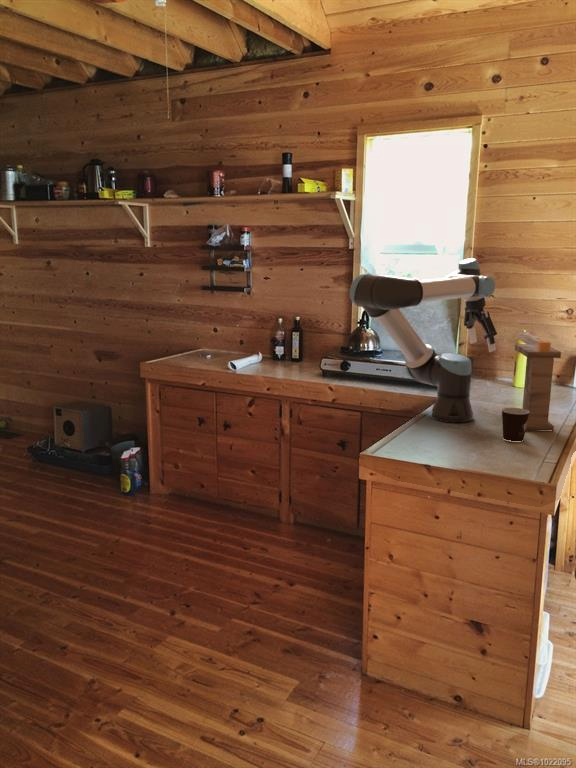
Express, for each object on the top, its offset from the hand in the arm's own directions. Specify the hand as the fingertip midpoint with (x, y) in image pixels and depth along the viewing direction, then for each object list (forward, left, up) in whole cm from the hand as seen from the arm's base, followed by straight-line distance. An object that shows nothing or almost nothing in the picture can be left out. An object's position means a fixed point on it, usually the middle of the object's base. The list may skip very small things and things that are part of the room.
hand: (483, 346), depth 266 cm
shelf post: (-14, -34, -22) cm, 43 cm away
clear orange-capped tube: (-11, -30, +6) cm, 32 cm away
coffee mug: (-33, -41, -23) cm, 58 cm away
